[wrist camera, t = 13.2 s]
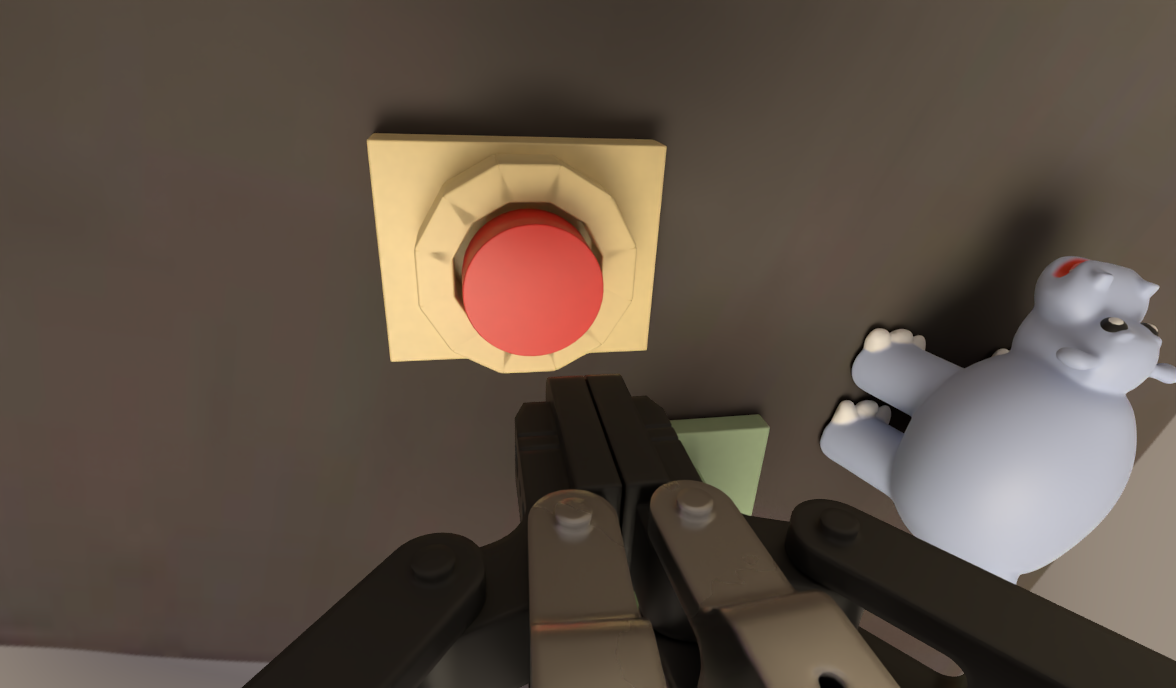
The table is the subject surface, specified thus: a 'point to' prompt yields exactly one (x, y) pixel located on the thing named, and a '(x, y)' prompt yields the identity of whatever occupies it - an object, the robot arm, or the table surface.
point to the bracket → (726, 454)
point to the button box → (488, 189)
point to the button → (530, 283)
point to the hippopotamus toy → (1010, 422)
